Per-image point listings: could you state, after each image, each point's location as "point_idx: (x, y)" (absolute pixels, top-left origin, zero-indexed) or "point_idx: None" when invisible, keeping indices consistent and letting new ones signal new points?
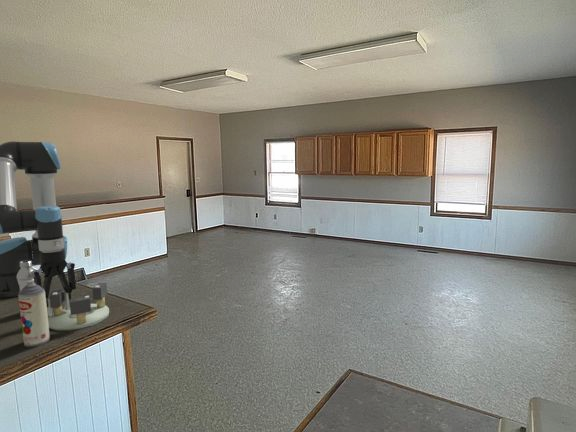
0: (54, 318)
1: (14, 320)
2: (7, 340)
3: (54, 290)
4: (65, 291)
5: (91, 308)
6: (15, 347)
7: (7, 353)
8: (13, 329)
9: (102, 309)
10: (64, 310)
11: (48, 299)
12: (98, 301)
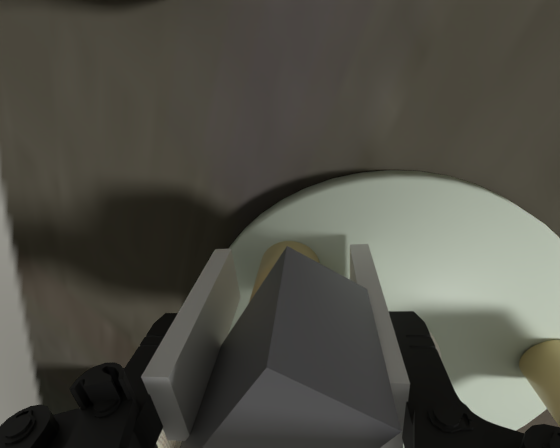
0: (247, 305)
1: (34, 4)
2: (33, 306)
3: (274, 400)
4: (408, 420)
5: (489, 338)
6: (69, 383)
7: (47, 401)
8: (45, 194)
9: (509, 398)
10: (356, 223)
11: (170, 431)
12: (555, 418)
